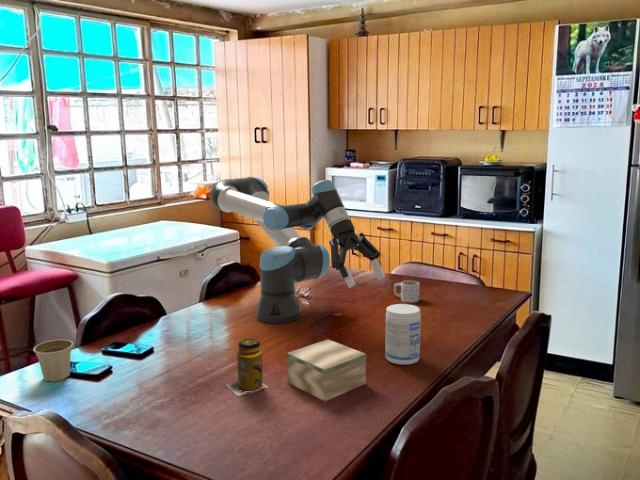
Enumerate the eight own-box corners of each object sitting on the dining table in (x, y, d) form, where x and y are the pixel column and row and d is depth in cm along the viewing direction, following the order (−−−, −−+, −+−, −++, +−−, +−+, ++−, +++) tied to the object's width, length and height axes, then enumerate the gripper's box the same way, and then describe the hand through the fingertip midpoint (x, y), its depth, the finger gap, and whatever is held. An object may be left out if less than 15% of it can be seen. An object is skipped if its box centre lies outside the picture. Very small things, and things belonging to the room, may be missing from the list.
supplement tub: (416, 367, 159) (418, 315, 156) (381, 363, 161) (382, 312, 159) (421, 354, 168) (423, 304, 165) (388, 351, 170) (389, 302, 168)
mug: (421, 299, 220) (422, 282, 219) (414, 303, 215) (415, 286, 214) (397, 295, 226) (397, 278, 224) (389, 299, 220) (390, 282, 219)
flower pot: (51, 388, 148) (47, 355, 146) (29, 379, 153) (25, 348, 151) (83, 374, 156) (80, 343, 154) (61, 367, 161) (58, 337, 159)
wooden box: (287, 382, 150) (286, 352, 148) (327, 367, 159) (327, 339, 158) (324, 401, 140) (324, 369, 138) (366, 383, 149) (366, 353, 148)
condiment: (269, 388, 147) (267, 342, 145) (238, 397, 142) (236, 350, 140) (255, 378, 153) (254, 334, 151) (225, 386, 148) (223, 340, 146)
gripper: (317, 222, 181) (346, 284, 176) (372, 213, 198) (400, 270, 192) (304, 234, 187) (332, 294, 181) (359, 224, 203) (386, 279, 197)
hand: (367, 282), depth 187 cm, fingers open, 13 cm apart
